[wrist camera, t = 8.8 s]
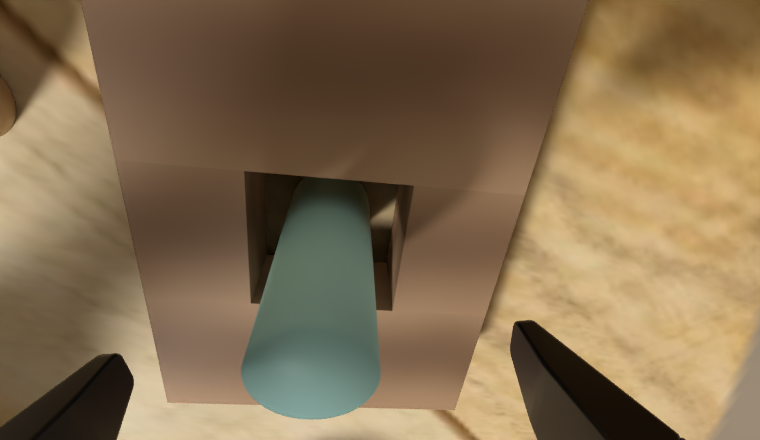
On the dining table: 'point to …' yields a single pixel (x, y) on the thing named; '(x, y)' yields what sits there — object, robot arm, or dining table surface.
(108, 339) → the dining table surface
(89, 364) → the robot arm
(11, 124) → the short beech pin
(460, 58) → the walnut hole block
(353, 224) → the long teal pin
